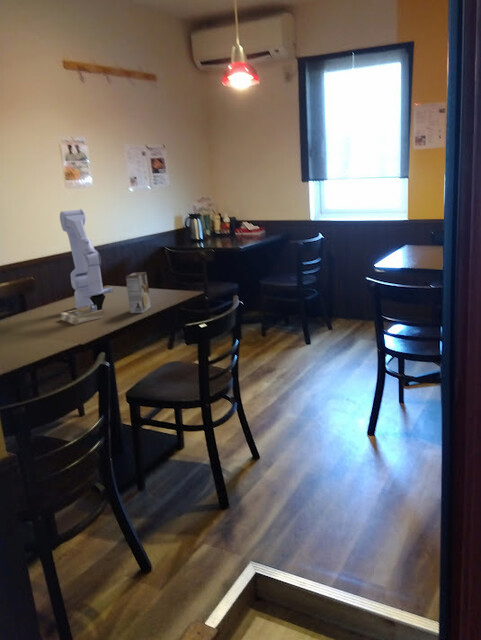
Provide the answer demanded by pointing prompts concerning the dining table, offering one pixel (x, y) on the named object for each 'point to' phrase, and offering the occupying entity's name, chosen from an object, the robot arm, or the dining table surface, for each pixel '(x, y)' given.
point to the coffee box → (138, 292)
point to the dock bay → (81, 316)
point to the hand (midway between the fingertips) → (99, 311)
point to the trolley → (85, 309)
